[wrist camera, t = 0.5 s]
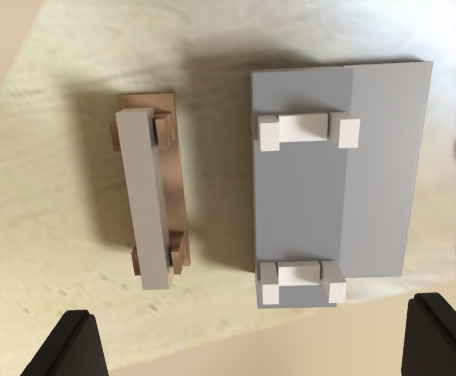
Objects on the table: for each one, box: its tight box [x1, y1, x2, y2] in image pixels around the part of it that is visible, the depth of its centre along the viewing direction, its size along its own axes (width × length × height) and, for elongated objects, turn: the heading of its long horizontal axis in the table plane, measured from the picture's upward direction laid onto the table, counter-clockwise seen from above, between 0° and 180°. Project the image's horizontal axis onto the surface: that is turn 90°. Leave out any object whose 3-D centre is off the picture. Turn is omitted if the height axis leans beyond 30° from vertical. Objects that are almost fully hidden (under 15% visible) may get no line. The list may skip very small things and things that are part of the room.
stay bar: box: [115, 107, 174, 290], centre depth 38 cm, size 20×3×3 cm, turn 3°
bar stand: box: [110, 93, 191, 275], centre depth 41 cm, size 22×6×6 cm, turn 3°
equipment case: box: [250, 61, 433, 309], centre depth 37 cm, size 26×19×11 cm
